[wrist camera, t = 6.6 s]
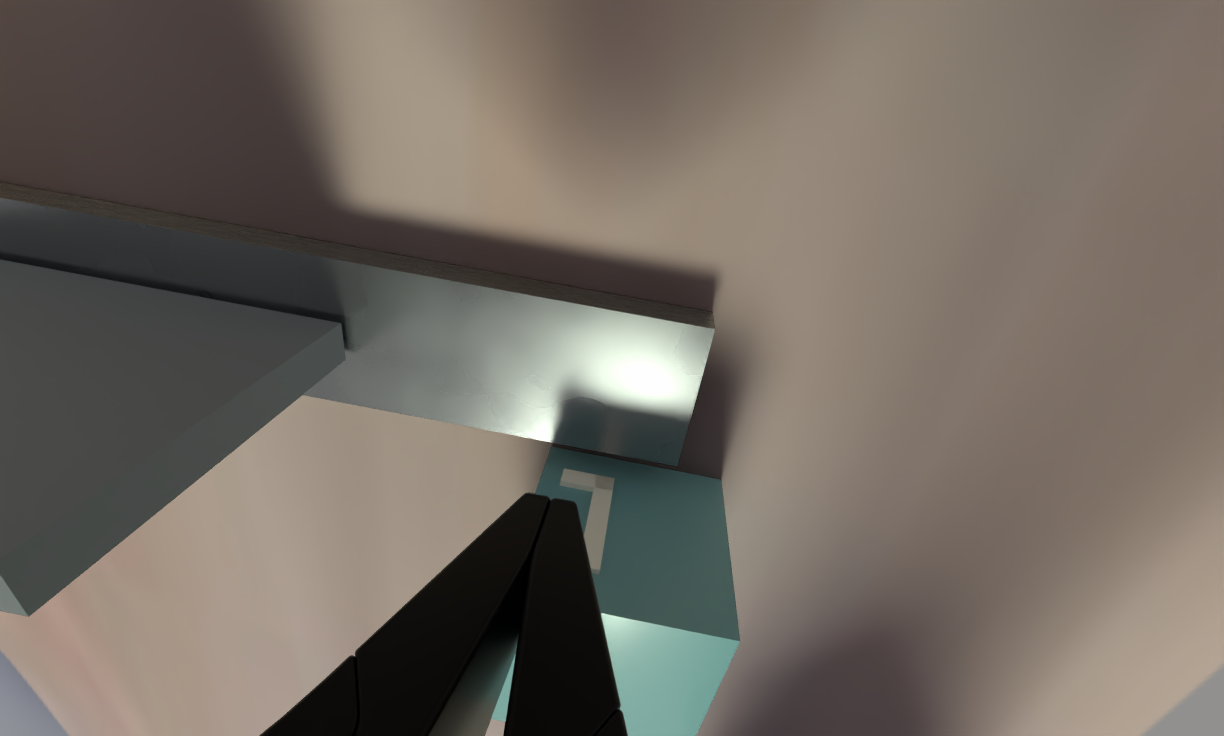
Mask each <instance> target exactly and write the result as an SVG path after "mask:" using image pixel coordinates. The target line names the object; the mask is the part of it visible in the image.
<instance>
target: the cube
mask: <svg viewBox="0 0 1224 736" xmlns="http://www.w3.org/2000/svg"><path fill="white" fill-rule="evenodd" d="M535 494H539V495H544V496H548V497H549V498H550V501H551V500H552V499H553V498H560V499H565V500H570V501H574V502H575V503H576V504H577V507H578V512H579V516H580V521H581V526H582V530H583V535H584V539H585V544H586V548H587V553H588V557H589V562H590V566H591V571H592V576H593V580H594V585H595V589H596V594H597V598H598V603H599V607H600V612H601V616H602V621H603V626H604V630H605V635H606V639H607V644H608V648H609V653H610V657H611V662H612V667H613V671H614V676H615V680H616V685H617V689H618V694H619V698H620V703H621V707H620V710H621V711H622V712H623V715H624V720H625V724H626V729H627V733H628V736H696V734H697V732H698V730H699V728H700V726H701V724H702V722H703V719H704V717H705V715H706V713H707V711H708V709H709V707H710V705H711V702H712V700H713V698H714V696H715V694H716V692H717V690H718V687H719V685H720V683H721V681H722V679H723V677H724V675H725V673H726V670H727V668H728V666H729V664H730V662H731V660H732V658H733V655H734V653H735V651H736V649H737V647H738V645H739V643H740V637H739V628H738V619H737V611H736V602H735V594H734V585H733V577H732V568H731V559H730V551H729V542H728V534H727V525H726V517H725V508H724V499H723V491H722V482H721V479H715V478H710V477H705V476H700V475H695V474H690V473H685V472H680V471H674V470H669V469H664V468H659V467H654V466H649V465H644V464H639V463H634V462H628V461H623V460H618V459H613V458H608V457H603V456H598V455H593V454H588V453H582V452H577V451H572V450H567V449H562V448H557V447H551V450H550V453H549V456H548V459H547V461H546V464H545V467H544V470H543V473H542V476H541V478H540V481H539V484H538V487H537V490H536V493H535ZM515 655H516V653H515ZM514 662H515V656H514V659H513V661H512V664H511V667H510V669H509V672H508V675H507V677H506V680H505V683H504V685H503V688H502V691H501V693H500V696H499V699H498V701H497V704H496V707H495V709H494V712H493V715H492V718H491V719H496V720H500V721H505V722H506V715H507V709H508V702H509V695H510V689H511V682H512V675H513V669H514Z"/></svg>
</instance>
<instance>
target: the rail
mask: <svg viewBox="0 0 1224 736" xmlns="http://www.w3.org/2000/svg"><path fill="white" fill-rule="evenodd" d="M0 259H1V260H6V261H11V262H17V263H22V264H27V265H33V266H38V267H43V268H49V269H54V270H59V271H65V272H70V273H75V274H81V275H86V276H91V277H97V278H102V279H107V280H113V281H118V282H123V283H129V284H134V285H140V286H145V287H150V288H156V289H161V290H166V291H172V292H177V293H182V294H188V295H193V296H198V297H204V298H209V299H214V300H220V301H225V302H230V303H236V304H241V305H246V306H252V307H257V308H262V309H268V310H273V311H278V312H284V313H289V314H295V315H300V316H305V317H311V318H316V319H321V320H327V321H332V322H337V323H341V326H342V334H343V341H344V349H345V357H346V360H345V361H344V362H342V363H341V364H340V365H339V366H337V367H336V368H335V369H334V370H332V371H331V372H330V373H329V374H328V375H326V376H325V377H324V378H323V379H321V380H320V381H319V382H318V383H316V384H315V385H314V386H313V387H312V388H310V389H309V390H308V391H307V392H305V393H304V394H303V395H306V396H311V397H316V398H321V399H327V400H332V401H337V402H342V403H347V404H353V405H358V406H363V407H368V408H374V409H379V410H384V411H389V412H395V413H400V414H405V415H410V416H416V417H421V418H426V419H431V420H437V421H442V422H447V423H452V424H457V425H463V426H468V427H473V428H478V429H484V430H489V431H494V432H499V433H505V434H510V435H515V436H520V437H526V438H531V439H536V440H541V441H546V442H552V443H557V444H562V445H567V446H573V447H578V448H583V449H588V450H594V451H599V452H604V453H609V454H615V455H620V456H625V457H630V458H636V459H641V460H646V461H651V462H656V463H662V464H667V465H672V466H678V462H679V458H680V455H681V451H682V448H683V444H684V440H685V437H686V433H687V430H688V426H689V422H690V419H691V415H692V412H693V408H694V404H695V401H696V397H697V394H698V390H699V386H700V383H701V379H702V376H703V372H704V368H705V365H706V361H707V358H708V354H709V350H710V347H711V343H712V340H713V336H714V332H715V324H714V318H713V312H709V311H703V310H698V309H692V308H687V307H681V306H676V305H670V304H665V303H659V302H654V301H649V300H643V299H638V298H632V297H627V296H621V295H616V294H610V293H605V292H599V291H594V290H588V289H583V288H578V287H572V286H567V285H561V284H556V283H550V282H545V281H539V280H534V279H528V278H523V277H517V276H512V275H507V274H501V273H496V272H490V271H485V270H479V269H474V268H468V267H463V266H457V265H452V264H447V263H441V262H436V261H430V260H425V259H419V258H414V257H408V256H403V255H397V254H392V253H386V252H381V251H376V250H370V249H365V248H359V247H354V246H348V245H343V244H337V243H332V242H326V241H321V240H315V239H310V238H305V237H299V236H294V235H288V234H283V233H277V232H272V231H266V230H261V229H255V228H250V227H245V226H239V225H234V224H228V223H223V222H217V221H212V220H206V219H201V218H195V217H190V216H184V215H179V214H174V213H168V212H163V211H157V210H152V209H146V208H141V207H135V206H130V205H124V204H119V203H113V202H108V201H103V200H97V199H92V198H86V197H81V196H75V195H70V194H64V193H59V192H53V191H48V190H43V189H37V188H32V187H26V186H21V185H15V184H10V183H4V182H0Z"/></svg>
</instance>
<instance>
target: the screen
mask: <svg viewBox="0 0 1224 736" xmlns="http://www.w3.org/2000/svg"><path fill="white" fill-rule="evenodd" d="M345 360H346V357H345V349H344V341H343V334H342V326H341V323H337V322H332V321H327V320H321V319H316V318H311V317H305V316H300V315H295V314H289V313H284V312H278V311H273V310H268V309H262V308H257V307H252V306H246V305H241V304H236V303H230V302H225V301H220V300H214V299H209V298H204V297H198V296H193V295H188V294H182V293H177V292H172V291H166V290H161V289H156V288H150V287H145V286H140V285H134V284H129V283H123V282H118V281H113V280H107V279H102V278H97V277H91V276H86V275H81V274H75V273H70V272H65V271H59V270H54V269H49V268H43V267H38V266H33V265H27V264H22V263H17V262H11V261H6V260H1V259H0V611H3V612H8V613H13V614H18V615H23V616H28V617H29V616H30V615H31V614H33V613H34V612H35V611H36V610H38V609H39V608H40V607H41V606H42V605H44V604H45V603H46V602H47V601H49V600H50V599H51V598H52V597H54V596H55V595H56V594H57V593H59V592H60V591H61V590H62V589H63V588H65V587H66V586H67V585H68V584H70V583H71V582H72V581H73V580H75V579H76V578H77V577H78V576H80V575H81V574H82V573H83V572H84V571H86V570H87V569H88V568H89V567H91V566H92V565H93V564H94V563H96V562H97V561H98V560H99V559H100V558H102V557H103V556H104V555H105V554H107V553H108V552H109V551H110V550H112V549H113V548H114V547H115V546H117V545H118V544H119V543H120V542H121V541H123V540H124V539H125V538H126V537H128V536H129V535H130V534H131V533H133V532H134V531H135V530H136V529H138V528H139V527H140V526H141V525H142V524H144V523H145V522H146V521H147V520H149V519H150V518H151V517H152V516H154V515H155V514H156V513H157V512H158V511H160V510H161V509H162V508H163V507H165V506H166V505H167V504H168V503H170V502H171V501H172V500H173V499H175V498H176V497H177V496H178V495H179V494H181V493H182V492H183V491H184V490H186V489H187V488H188V487H189V486H191V485H192V484H193V483H194V482H196V481H197V480H198V479H199V478H200V477H202V476H203V475H204V474H205V473H207V472H208V471H209V470H210V469H212V468H213V467H214V466H215V465H216V464H218V463H219V462H220V461H221V460H223V459H224V458H225V457H226V456H228V455H229V454H230V453H231V452H233V451H234V450H235V449H236V448H237V447H239V446H240V445H241V444H242V443H244V442H245V441H246V440H247V439H249V438H250V437H251V436H252V435H254V434H255V433H256V432H257V431H258V430H260V429H261V428H262V427H263V426H265V425H266V424H267V423H268V422H270V421H271V420H272V419H273V418H274V417H276V416H277V415H278V414H279V413H281V412H282V411H283V410H284V409H286V408H287V407H288V406H289V405H291V404H292V403H293V402H294V401H295V400H297V399H298V398H299V397H300V396H302V395H303V394H304V393H305V392H307V391H308V390H309V389H310V388H312V387H313V386H314V385H315V384H316V383H318V382H319V381H320V380H321V379H323V378H324V377H325V376H326V375H328V374H329V373H330V372H331V371H332V370H334V369H335V368H336V367H337V366H339V365H340V364H341V363H342V362H344V361H345Z"/></svg>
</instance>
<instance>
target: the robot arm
mask: <svg viewBox="0 0 1224 736" xmlns="http://www.w3.org/2000/svg"><path fill="white" fill-rule="evenodd" d="M515 653H516V655H515ZM514 656H515V662H514V669H513V675H512V682H511V689H510V695H509V702H508V709H507V715H506V722H505V729H504V735H503V736H628V733H627V729H626V724H625V720H624V715H623V712H622V711H621V710H620V707H621V703H620V698H619V694H618V689H617V685H616V680H615V676H614V671H613V667H612V662H611V657H610V653H609V648H608V644H607V639H606V635H605V630H604V626H603V621H602V616H601V612H600V607H599V603H598V598H597V594H596V589H595V585H594V580H593V576H592V571H591V566H590V562H589V557H588V553H587V548H586V544H585V539H584V535H583V530H582V526H581V521H580V516H579V512H578V507H577V504H576V503H575V502H574V501H570V500H565V499H560V498H553V499H552V500H551V501H550V498H549V497H548V496H544V495H539V494H534V493H525V494H524V495H523V496H521V497H520V498H519V499H518V500H517V501H516V502H515V503H514V504H513V505H512V506H511V507H510V508H509V509H507V510H506V511H505V512H504V513H503V514H502V515H501V516H500V517H499V518H498V519H497V520H496V521H495V522H494V523H492V524H491V525H490V526H489V527H488V528H487V529H486V530H485V531H484V532H483V533H482V534H481V535H480V536H478V537H477V538H476V539H475V540H474V541H473V542H472V543H471V544H470V545H469V546H468V547H467V548H466V549H464V550H463V551H462V552H461V553H460V554H459V555H458V556H457V557H456V558H455V559H454V560H453V561H452V562H450V563H449V564H448V565H447V566H446V567H445V568H444V569H443V570H442V571H441V572H440V573H439V574H438V575H437V576H435V577H434V578H433V579H432V580H431V581H430V582H429V583H428V584H427V585H426V586H425V587H424V588H423V589H421V590H420V591H419V592H418V593H417V594H416V595H415V596H414V597H413V598H412V599H411V600H410V601H409V602H407V603H406V604H405V605H404V606H403V607H402V608H401V609H400V610H399V611H398V612H397V613H396V614H395V615H394V616H392V617H391V618H390V619H389V620H388V621H387V622H386V623H385V624H384V625H383V626H382V627H381V628H380V629H378V630H377V631H376V632H375V633H374V634H373V635H372V636H371V637H370V638H369V639H368V640H367V641H366V642H364V643H363V644H362V645H361V646H360V647H359V648H358V649H357V650H356V652H355V656H353V655H351V656H349V657H348V658H347V659H346V660H345V661H344V662H343V663H341V664H340V665H339V666H338V667H337V668H336V669H335V670H334V671H333V672H332V673H331V674H330V675H329V676H328V677H327V678H325V679H324V680H323V681H322V682H321V683H320V684H319V685H318V686H317V687H315V688H314V689H313V690H312V691H311V692H310V693H309V694H308V695H306V696H305V697H304V698H303V699H302V700H301V701H300V702H299V703H297V704H296V705H295V706H294V707H293V708H292V709H291V710H290V711H288V712H287V713H286V714H285V715H284V716H283V717H282V718H280V719H279V720H278V721H277V722H275V723H274V724H273V725H272V726H271V727H269V728H268V729H267V730H266V731H264V732H263V733H262V734H261V735H259V736H485V734H486V731H487V728H488V726H489V723H490V720H491V718H492V715H493V712H494V709H495V707H496V704H497V701H498V699H499V696H500V693H501V691H502V688H503V685H504V683H505V680H506V677H507V675H508V672H509V669H510V667H511V664H512V661H513V659H514Z"/></svg>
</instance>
